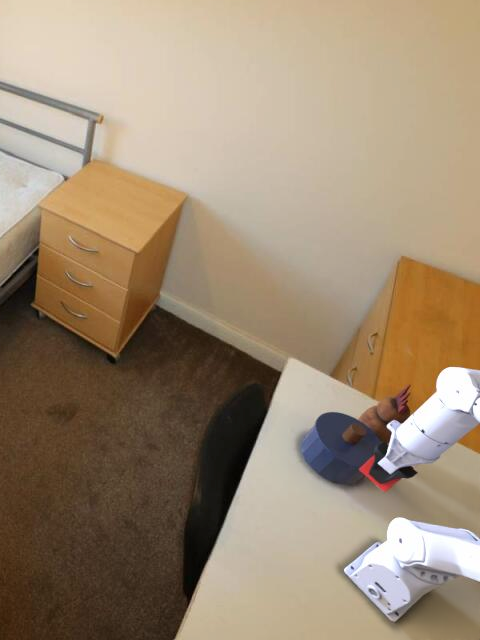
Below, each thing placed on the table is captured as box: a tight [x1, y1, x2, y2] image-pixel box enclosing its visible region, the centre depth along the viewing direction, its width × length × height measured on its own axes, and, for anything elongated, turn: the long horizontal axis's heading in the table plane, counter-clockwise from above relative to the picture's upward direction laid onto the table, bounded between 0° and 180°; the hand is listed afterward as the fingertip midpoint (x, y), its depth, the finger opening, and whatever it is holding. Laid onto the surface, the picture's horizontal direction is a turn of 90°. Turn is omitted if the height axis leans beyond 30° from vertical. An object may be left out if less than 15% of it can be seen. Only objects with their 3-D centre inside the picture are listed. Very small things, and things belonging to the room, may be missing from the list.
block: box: [359, 455, 415, 493], centre depth 85 cm, size 4×4×5 cm
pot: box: [300, 424, 365, 486], centre depth 95 cm, size 10×10×6 cm
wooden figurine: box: [357, 384, 411, 445], centre depth 96 cm, size 7×6×15 cm
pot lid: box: [314, 411, 381, 469], centre depth 92 cm, size 11×11×4 cm
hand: (384, 471), depth 86 cm, fingers closed on block, 4 cm apart
